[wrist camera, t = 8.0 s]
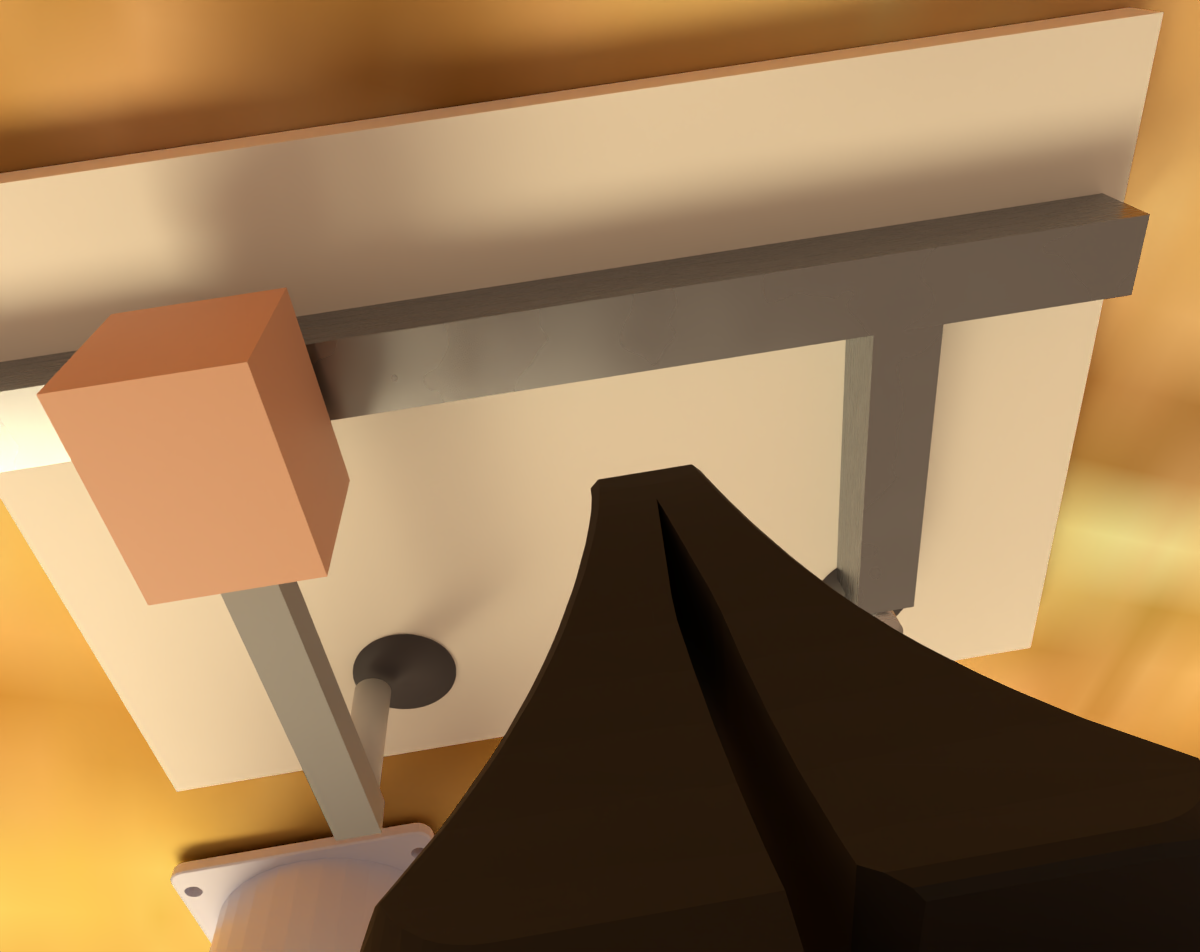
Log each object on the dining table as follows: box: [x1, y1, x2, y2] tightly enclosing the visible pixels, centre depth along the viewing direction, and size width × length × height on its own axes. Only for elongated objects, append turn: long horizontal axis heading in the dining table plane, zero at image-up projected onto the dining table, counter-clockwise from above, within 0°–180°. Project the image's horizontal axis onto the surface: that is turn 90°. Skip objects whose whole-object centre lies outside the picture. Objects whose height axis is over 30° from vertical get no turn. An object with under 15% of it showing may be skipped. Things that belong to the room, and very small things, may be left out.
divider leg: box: [36, 287, 391, 841], centre depth 17 cm, size 12×3×4 cm, turn 7°
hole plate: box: [0, 7, 1164, 792], centre depth 20 cm, size 16×24×1 cm, turn 97°
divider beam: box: [0, 193, 1150, 634], centre depth 20 cm, size 10×23×2 cm, turn 97°
